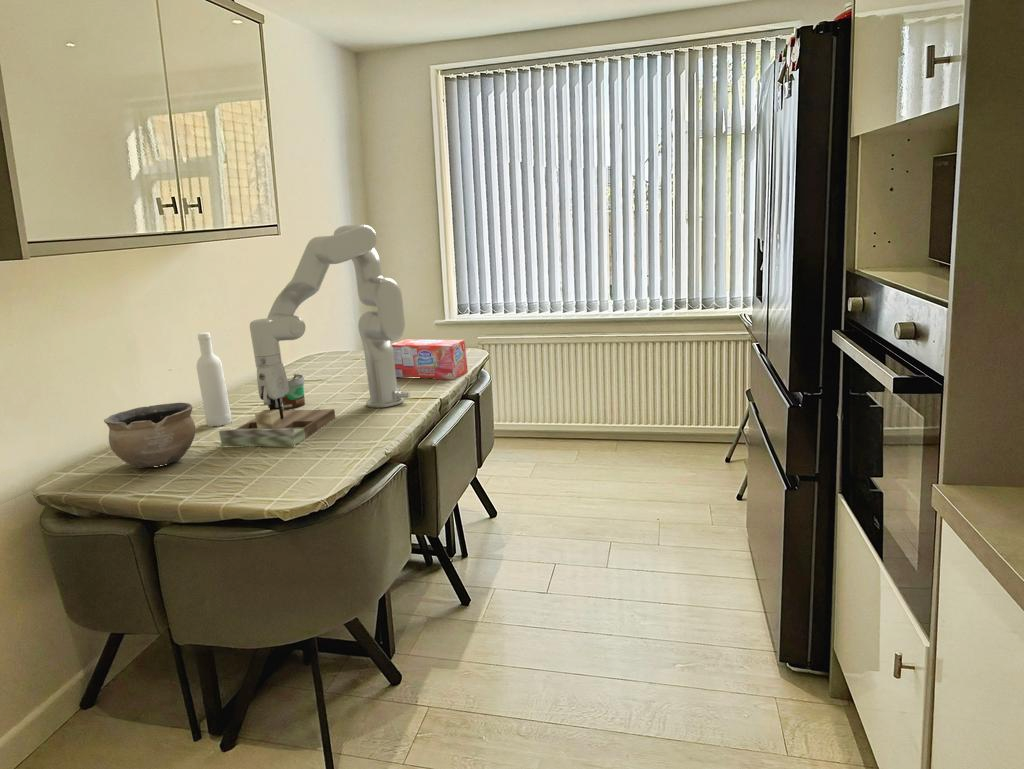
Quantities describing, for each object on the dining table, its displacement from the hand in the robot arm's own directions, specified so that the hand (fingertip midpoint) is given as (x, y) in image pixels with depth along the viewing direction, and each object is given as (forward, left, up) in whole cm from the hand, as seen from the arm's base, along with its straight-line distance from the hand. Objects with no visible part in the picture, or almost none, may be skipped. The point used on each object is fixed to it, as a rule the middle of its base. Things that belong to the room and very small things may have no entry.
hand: (277, 419), depth 229 cm
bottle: (+28, -12, -4) cm, 31 cm away
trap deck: (0, -1, -4) cm, 4 cm away
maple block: (0, +5, -1) cm, 5 cm away
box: (-26, -72, -5) cm, 77 cm away
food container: (+10, -32, -4) cm, 34 cm away
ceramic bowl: (+23, +26, -4) cm, 35 cm away
